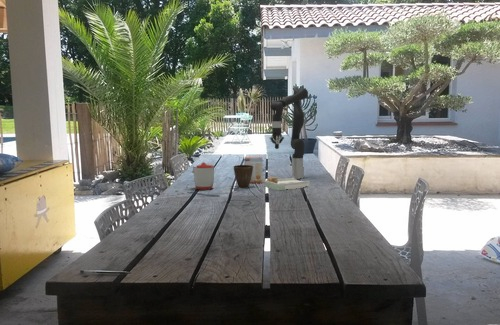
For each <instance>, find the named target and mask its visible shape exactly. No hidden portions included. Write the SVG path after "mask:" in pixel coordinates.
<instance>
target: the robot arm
mask: <svg viewBox="0 0 500 325" xmlns="http://www.w3.org/2000/svg"><path fill="white" fill-rule="evenodd" d="M308 96H309V90H308V89H306V88H305V87H304V88H303V87H302V88H300V87H299V88H295V89H294V90H293V94H291V95H287V96H285V97H283V98H281V99H278V100H274V101H273V102H272V101H271V103H270V106H269V107H270V110H272V111H276V112H275V113H273V114H272V122H271V126H272V127H271V132H272V133H271V136H270V137H269V140H270V141H271V142H272V144H274V148H275V149H276V150H278V149H279V148H280V144H281V143H282V142H283V141H284V139H285V136H283V135H282V133H283V132H282V129H283V128H282V127H283V125H282V123H283V122H282V114H283V112H284V108H286V107H288V106H290V105H291V104H293V112H292V114H293V116H292V131H291V138H290V139H291V140H290V147H291V148H292V149H293V151H294V152H293V153H292V154H291V155H292V156H291V159H292V160H291V178H295V180H301V179H300V178H302V179H304V178H305V166H304V156H305V141H304V140H302V139H301V131H302V128H303V126H304V124H305V114H304V112H303V109H302V107H301V101H302V100H306V99H307V98H308ZM303 177H304V178H303Z"/></svg>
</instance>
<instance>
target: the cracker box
mask: <svg viewBox="0 0 500 325" xmlns="http://www.w3.org/2000/svg"><path fill="white" fill-rule="evenodd" d="M243 165H251V166H253V172H252V177H251V181H250V184H262V183H263V156H244V164H243Z"/></svg>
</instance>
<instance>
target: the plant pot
mask: <svg viewBox="0 0 500 325" xmlns="http://www.w3.org/2000/svg"><path fill="white" fill-rule="evenodd" d="M233 171H234V177H235V181H236V184H237V186H238V188H240V189H244V188H249V186H250V184H251V183H250V181H251V177H252V172H253V166H251V165H244V164H240V165H239V164H237V165H234V166H233Z"/></svg>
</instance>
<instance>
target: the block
mask: <svg viewBox="0 0 500 325" xmlns="http://www.w3.org/2000/svg"><path fill="white" fill-rule="evenodd" d="M266 178H267V179H266V180H267V181H269V182H273V183H278V177H274V176H271V177H266Z"/></svg>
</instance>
